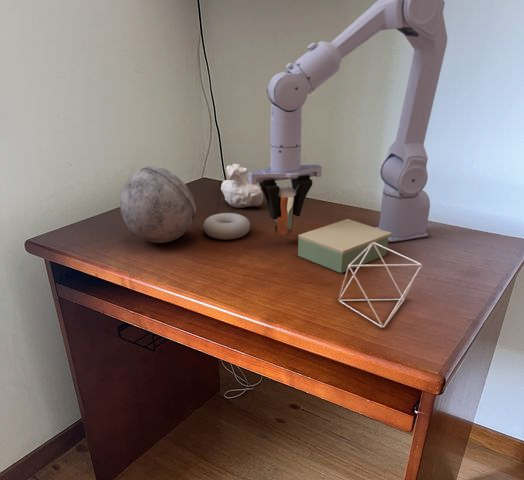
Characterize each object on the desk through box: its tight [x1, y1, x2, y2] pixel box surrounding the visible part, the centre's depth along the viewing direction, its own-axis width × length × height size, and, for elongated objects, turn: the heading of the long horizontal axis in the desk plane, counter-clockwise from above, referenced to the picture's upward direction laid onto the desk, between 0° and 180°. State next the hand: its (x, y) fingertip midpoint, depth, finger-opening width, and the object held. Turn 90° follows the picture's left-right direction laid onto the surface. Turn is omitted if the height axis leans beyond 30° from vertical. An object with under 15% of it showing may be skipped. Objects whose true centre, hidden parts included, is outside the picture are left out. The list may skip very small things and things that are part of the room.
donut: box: [202, 212, 251, 241], centre depth 116 cm, size 10×4×10 cm
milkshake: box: [274, 185, 299, 236], centre depth 108 cm, size 4×5×10 cm
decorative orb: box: [119, 165, 197, 244], centre depth 109 cm, size 15×14×15 cm
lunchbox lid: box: [298, 218, 391, 254], centre depth 104 cm, size 14×11×1 cm
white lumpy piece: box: [220, 163, 264, 209], centre depth 130 cm, size 12×8×11 cm
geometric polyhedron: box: [338, 242, 423, 329], centre depth 85 cm, size 12×11×9 cm
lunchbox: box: [297, 237, 389, 274], centre depth 105 cm, size 13×11×4 cm
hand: (284, 216), depth 109 cm, fingers closed on milkshake, 4 cm apart
